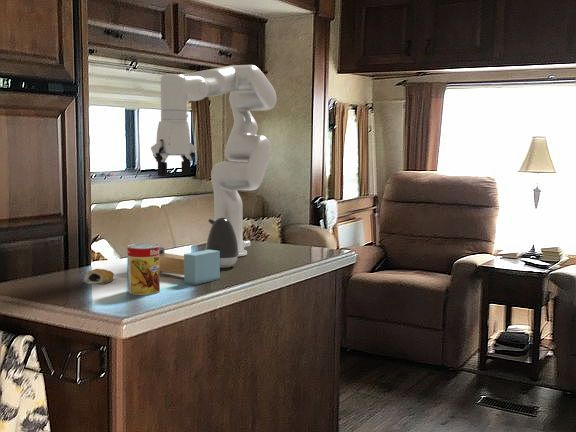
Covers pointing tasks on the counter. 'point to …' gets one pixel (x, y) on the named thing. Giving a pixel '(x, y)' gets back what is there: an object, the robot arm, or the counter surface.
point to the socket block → (201, 267)
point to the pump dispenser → (223, 241)
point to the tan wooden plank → (171, 263)
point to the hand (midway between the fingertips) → (174, 175)
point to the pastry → (98, 276)
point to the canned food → (143, 269)
